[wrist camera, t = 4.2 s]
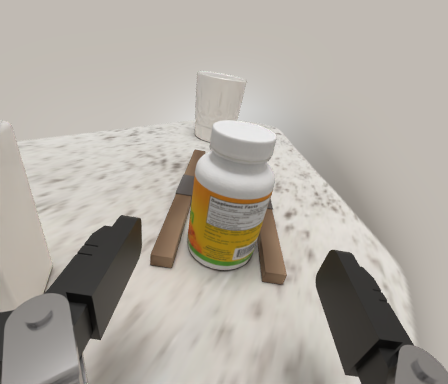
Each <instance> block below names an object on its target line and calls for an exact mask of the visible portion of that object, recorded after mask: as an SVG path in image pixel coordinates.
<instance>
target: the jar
mask: <svg viewBox="0 0 448 384" xmlns="http://www.w3.org/2000/svg"><path fill="white" fill-rule="evenodd" d="M52 266H53V263H52V260H51V256H50V253H49V250H48V246H47V243H46V239H45V236H44V233H43V229H42V226H41V223H40V219H39V216H38V212H37V209H36V206H35V202H34V199H33V195H32V192H31V189H30V185H29V182H28V178H27V175H26V172H25V168H24V165H23V162H22V158H21V155H20V151H19V148H18V144H17V141H16V138H15V134H14V131H13V127H12V125H11V124H10V123H9V122H7V121H4V120H0V312H6V311H11V310H15V309H16V308H17V307H18V306H20V305H21V304H22V303H24V302H25V301H27V300H29V299H31V298H33V297H35V296H38V295H42V294H43V293H44V290H45V287H46V284H47V281H48V278H49V275H50V272H51V269H52Z"/></svg>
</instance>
